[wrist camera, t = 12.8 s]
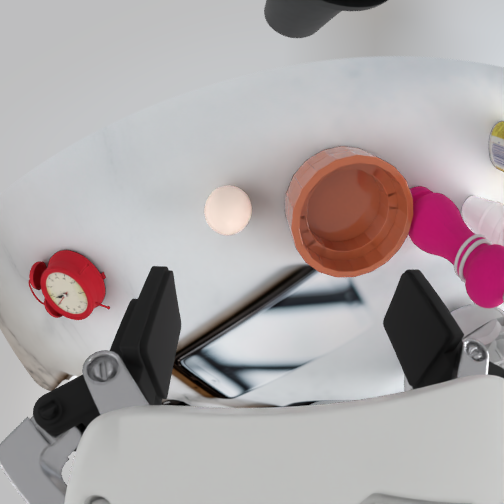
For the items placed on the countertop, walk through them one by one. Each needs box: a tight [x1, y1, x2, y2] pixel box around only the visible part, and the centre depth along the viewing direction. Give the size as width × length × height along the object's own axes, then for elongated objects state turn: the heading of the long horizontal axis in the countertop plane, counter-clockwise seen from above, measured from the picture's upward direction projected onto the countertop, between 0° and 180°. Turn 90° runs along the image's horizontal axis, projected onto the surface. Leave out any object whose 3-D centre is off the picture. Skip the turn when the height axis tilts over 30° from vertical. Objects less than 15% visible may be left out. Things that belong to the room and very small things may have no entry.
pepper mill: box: [409, 186, 504, 308], centre depth 24 cm, size 7×7×20 cm
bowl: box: [285, 146, 413, 277], centre depth 30 cm, size 14×14×6 cm
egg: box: [204, 185, 252, 236], centre depth 29 cm, size 5×5×7 cm
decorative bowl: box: [404, 304, 504, 391], centre depth 40 cm, size 30×30×15 cm
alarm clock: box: [29, 250, 110, 320], centre depth 35 cm, size 10×6×15 cm
